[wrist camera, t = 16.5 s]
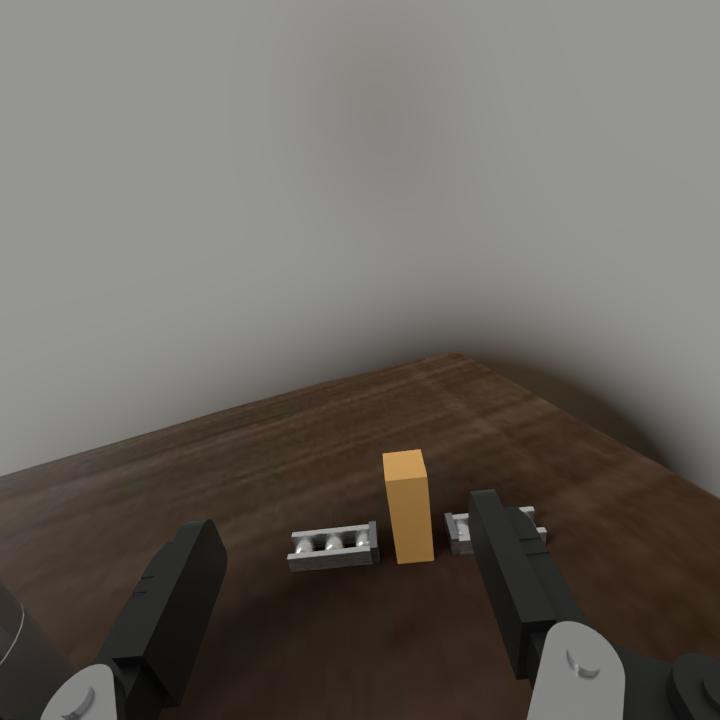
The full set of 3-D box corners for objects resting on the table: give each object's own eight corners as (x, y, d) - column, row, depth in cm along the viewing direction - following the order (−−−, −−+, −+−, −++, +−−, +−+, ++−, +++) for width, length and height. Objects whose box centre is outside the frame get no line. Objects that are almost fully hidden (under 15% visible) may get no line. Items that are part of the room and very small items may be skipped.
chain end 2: (452, 555, 39) (451, 539, 38) (445, 529, 42) (444, 513, 41) (545, 546, 38) (547, 529, 37) (531, 519, 41) (532, 503, 40)
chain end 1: (291, 572, 40) (286, 556, 38) (296, 545, 43) (291, 530, 42) (380, 563, 39) (377, 547, 38) (378, 536, 42) (375, 521, 41)
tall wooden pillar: (397, 564, 39) (385, 481, 34) (393, 528, 43) (382, 450, 38) (434, 560, 38) (427, 476, 33) (426, 525, 43) (419, 445, 38)
